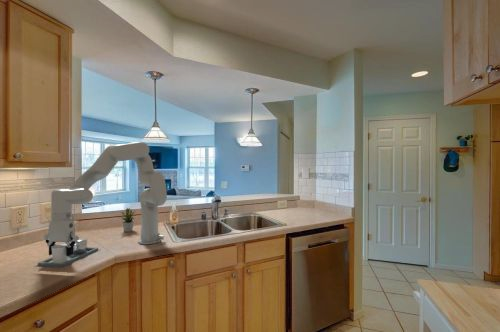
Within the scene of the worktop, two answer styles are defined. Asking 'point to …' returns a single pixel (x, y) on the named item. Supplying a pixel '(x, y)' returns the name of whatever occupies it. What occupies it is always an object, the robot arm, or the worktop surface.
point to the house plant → (127, 220)
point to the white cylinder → (59, 253)
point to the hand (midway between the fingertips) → (61, 254)
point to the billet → (80, 247)
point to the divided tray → (70, 260)
